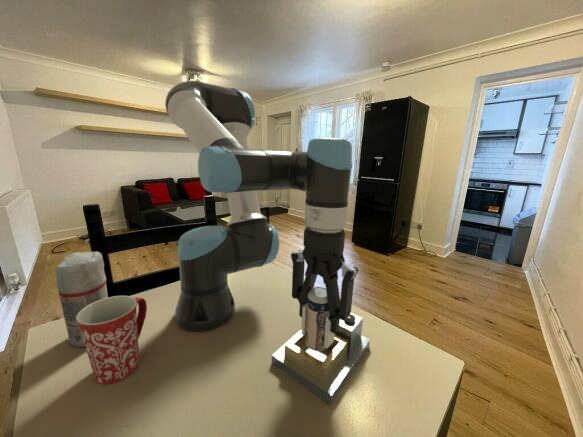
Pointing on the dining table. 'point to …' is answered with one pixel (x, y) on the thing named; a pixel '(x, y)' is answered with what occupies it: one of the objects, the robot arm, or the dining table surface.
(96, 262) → the spray can
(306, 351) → the grey socket fixture
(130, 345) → the mug
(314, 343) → the beer can
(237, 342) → the dining table surface
